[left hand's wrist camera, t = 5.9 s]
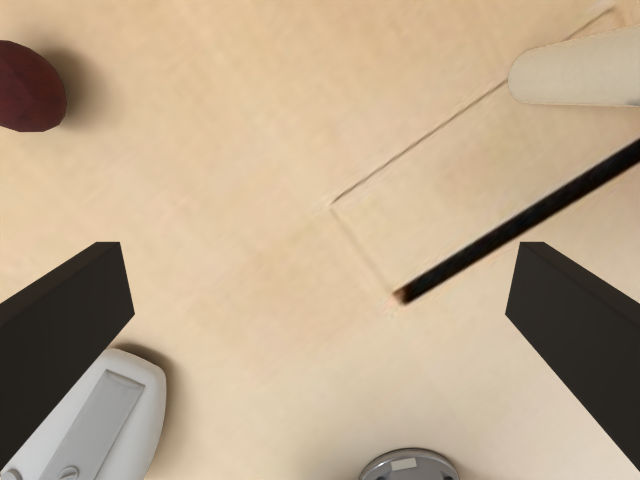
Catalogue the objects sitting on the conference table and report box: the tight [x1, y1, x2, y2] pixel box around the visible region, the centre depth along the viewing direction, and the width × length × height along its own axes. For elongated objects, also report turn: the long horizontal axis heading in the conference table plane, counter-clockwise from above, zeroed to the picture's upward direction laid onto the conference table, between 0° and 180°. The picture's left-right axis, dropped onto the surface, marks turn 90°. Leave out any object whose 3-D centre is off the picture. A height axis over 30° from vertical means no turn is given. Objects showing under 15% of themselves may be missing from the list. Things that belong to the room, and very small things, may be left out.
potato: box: [0, 40, 67, 132], centre depth 33 cm, size 7×8×7 cm
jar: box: [508, 24, 640, 107], centre depth 27 cm, size 5×5×19 cm
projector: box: [1, 348, 167, 480], centre depth 44 cm, size 22×23×15 cm
